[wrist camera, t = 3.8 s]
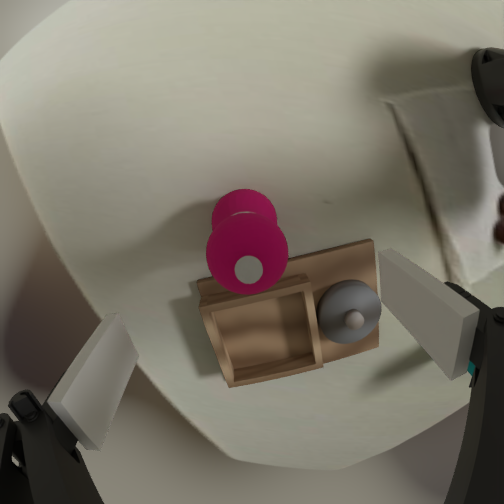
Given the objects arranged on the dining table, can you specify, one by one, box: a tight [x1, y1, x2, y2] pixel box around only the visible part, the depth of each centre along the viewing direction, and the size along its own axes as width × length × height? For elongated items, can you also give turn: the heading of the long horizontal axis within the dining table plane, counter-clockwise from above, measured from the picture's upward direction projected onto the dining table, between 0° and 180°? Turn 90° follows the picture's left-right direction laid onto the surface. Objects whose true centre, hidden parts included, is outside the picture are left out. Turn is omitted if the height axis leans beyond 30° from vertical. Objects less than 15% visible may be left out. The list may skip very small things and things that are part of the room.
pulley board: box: [197, 239, 381, 388], centre depth 39 cm, size 18×24×5 cm
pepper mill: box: [206, 189, 288, 295], centre depth 27 cm, size 7×7×20 cm
